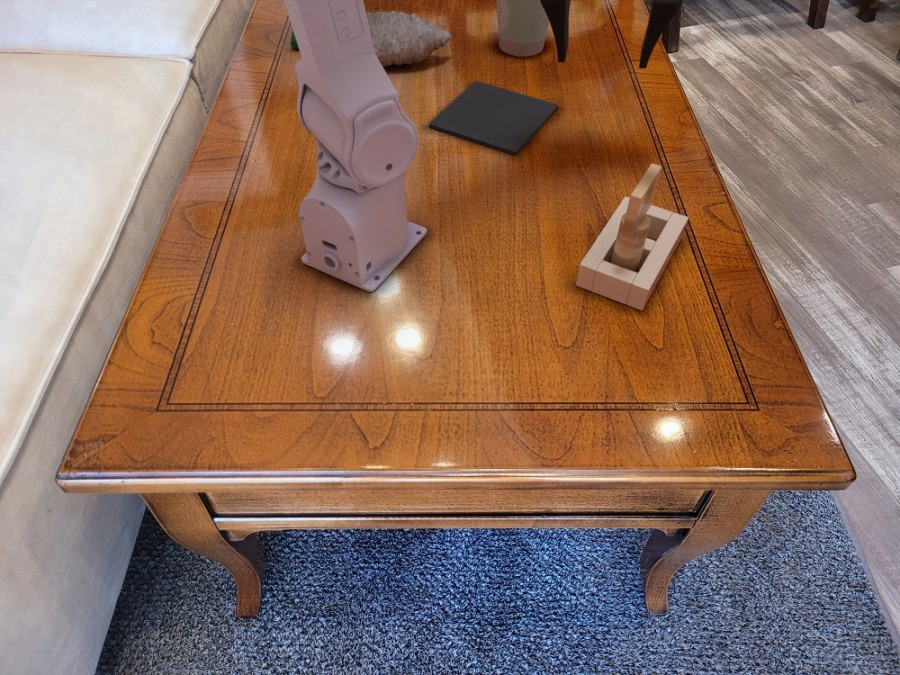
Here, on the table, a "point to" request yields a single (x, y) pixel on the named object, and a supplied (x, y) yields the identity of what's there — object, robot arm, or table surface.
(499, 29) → the coffee cup
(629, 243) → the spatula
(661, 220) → the frame
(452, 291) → the table surface
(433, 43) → the seashell
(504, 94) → the mat
